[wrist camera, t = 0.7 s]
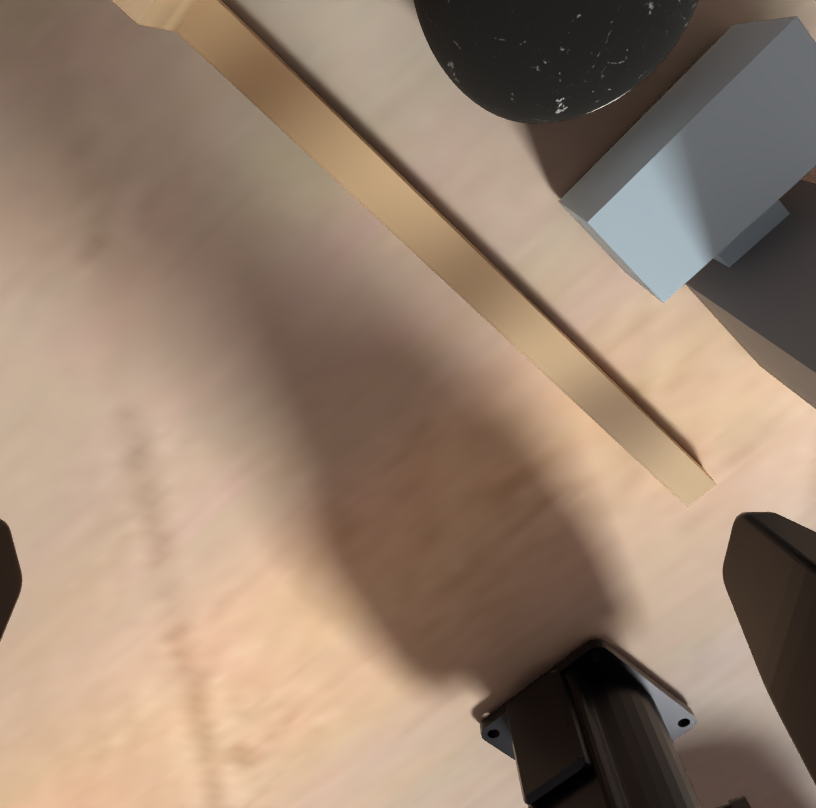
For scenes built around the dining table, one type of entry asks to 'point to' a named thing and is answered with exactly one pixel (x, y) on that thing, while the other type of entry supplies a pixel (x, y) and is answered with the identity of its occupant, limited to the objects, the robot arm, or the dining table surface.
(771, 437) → the dining table surface
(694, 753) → the dining table surface
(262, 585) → the dining table surface
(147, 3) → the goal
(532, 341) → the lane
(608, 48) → the billiard ball
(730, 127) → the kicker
